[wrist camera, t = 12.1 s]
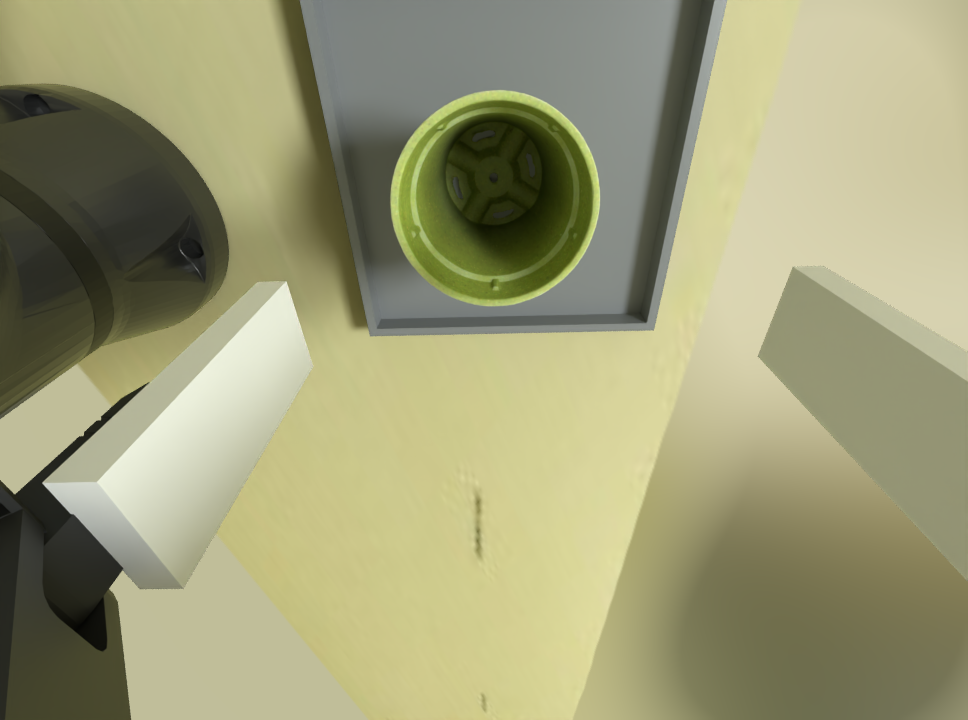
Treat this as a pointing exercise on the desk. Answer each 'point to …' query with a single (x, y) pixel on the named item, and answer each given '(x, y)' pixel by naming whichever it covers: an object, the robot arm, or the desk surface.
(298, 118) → the desk surface
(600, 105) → the tray
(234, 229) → the desk surface
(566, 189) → the plant pot
